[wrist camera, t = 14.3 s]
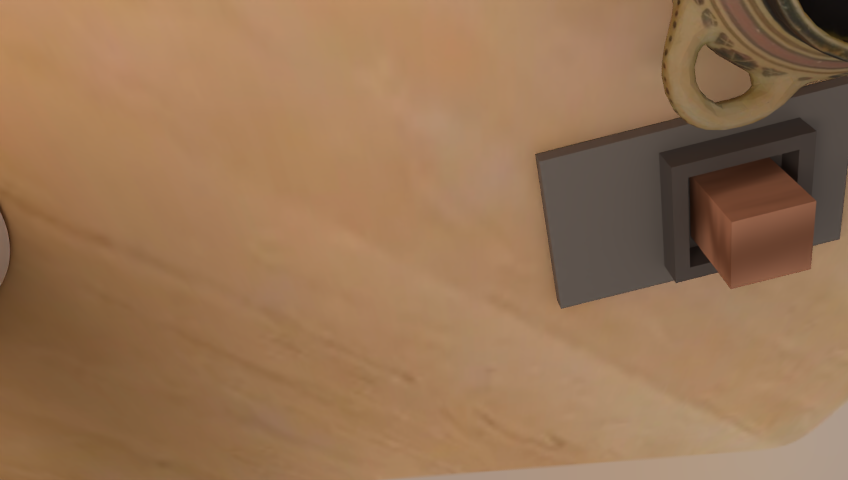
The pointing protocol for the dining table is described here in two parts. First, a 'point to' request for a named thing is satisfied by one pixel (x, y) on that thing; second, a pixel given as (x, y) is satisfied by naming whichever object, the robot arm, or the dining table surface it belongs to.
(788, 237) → the terracotta block
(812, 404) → the dining table surface
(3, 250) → the robot arm
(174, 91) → the dining table surface
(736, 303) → the dining table surface
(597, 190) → the base board
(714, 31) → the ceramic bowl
